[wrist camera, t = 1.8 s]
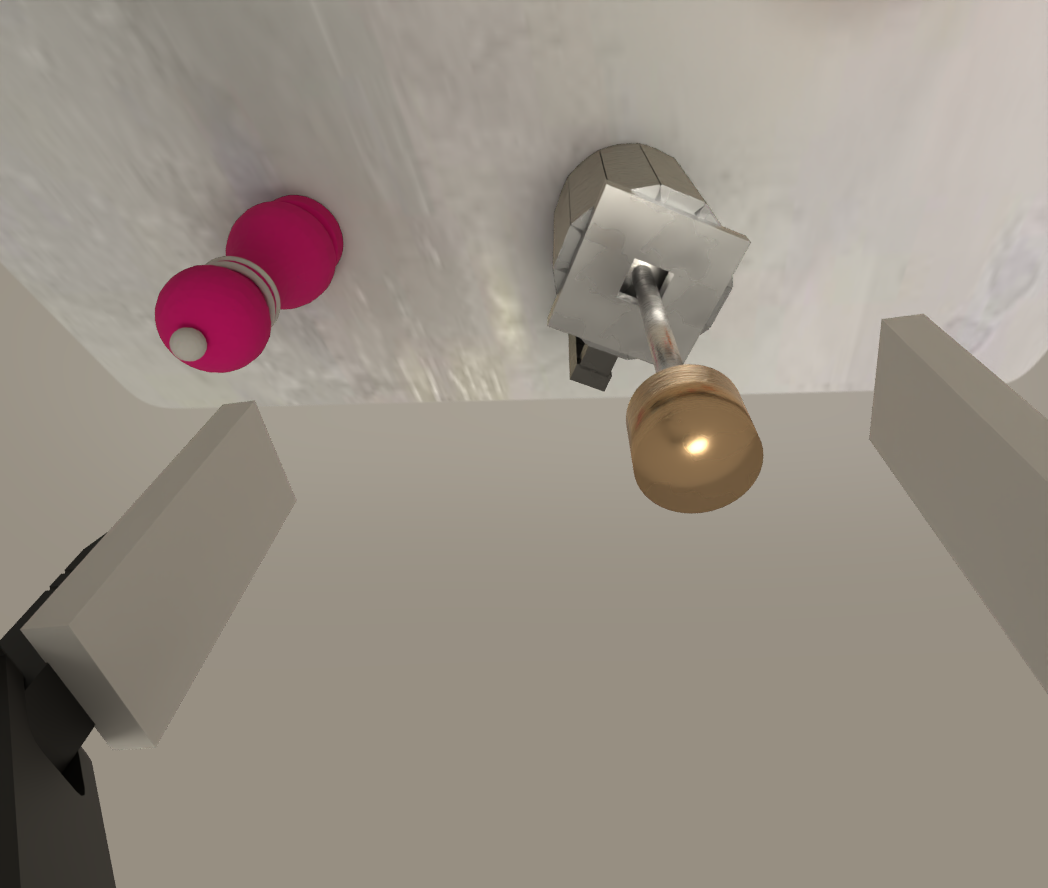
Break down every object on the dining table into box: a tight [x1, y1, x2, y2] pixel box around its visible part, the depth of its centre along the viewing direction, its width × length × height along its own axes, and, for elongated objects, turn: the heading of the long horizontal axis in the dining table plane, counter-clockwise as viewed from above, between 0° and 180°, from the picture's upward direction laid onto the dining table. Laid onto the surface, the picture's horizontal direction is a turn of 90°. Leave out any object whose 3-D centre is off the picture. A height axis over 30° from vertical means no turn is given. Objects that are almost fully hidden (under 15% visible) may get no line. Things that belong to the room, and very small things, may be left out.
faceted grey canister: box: [547, 143, 751, 391], centre depth 45 cm, size 10×13×14 cm
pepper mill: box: [155, 195, 343, 373], centre depth 44 cm, size 7×7×20 cm
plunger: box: [619, 259, 763, 513], centre depth 32 cm, size 7×7×20 cm
